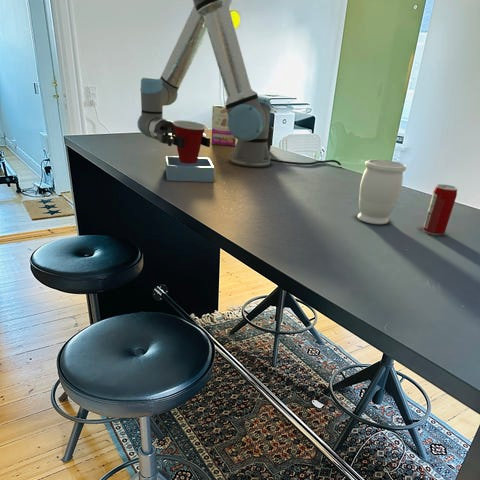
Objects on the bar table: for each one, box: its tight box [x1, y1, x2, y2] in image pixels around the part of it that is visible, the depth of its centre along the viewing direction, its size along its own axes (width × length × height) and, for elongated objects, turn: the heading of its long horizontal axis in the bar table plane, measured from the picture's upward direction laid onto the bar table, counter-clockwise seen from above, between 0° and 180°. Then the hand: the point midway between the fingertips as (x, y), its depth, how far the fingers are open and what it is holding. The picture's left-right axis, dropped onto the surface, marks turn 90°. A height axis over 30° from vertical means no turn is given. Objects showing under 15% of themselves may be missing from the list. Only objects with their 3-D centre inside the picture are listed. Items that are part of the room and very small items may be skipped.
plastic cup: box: [172, 119, 207, 164], centre depth 144 cm, size 11×11×12 cm
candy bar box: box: [211, 104, 237, 147], centre depth 203 cm, size 11×5×16 cm, turn 81°
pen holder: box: [267, 126, 274, 152], centre depth 197 cm, size 9×9×10 cm
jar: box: [357, 159, 407, 225], centre depth 117 cm, size 11×10×15 cm
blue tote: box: [165, 155, 215, 183], centre depth 148 cm, size 15×15×5 cm
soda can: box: [422, 183, 458, 236], centre depth 113 cm, size 6×6×12 cm
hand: (196, 143), depth 140 cm, fingers closed on plastic cup, 9 cm apart
